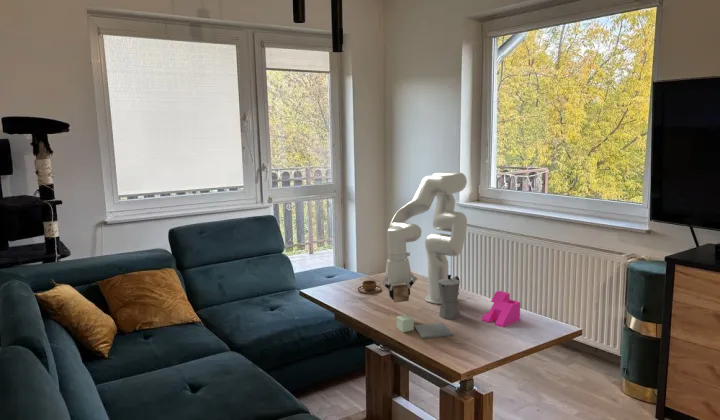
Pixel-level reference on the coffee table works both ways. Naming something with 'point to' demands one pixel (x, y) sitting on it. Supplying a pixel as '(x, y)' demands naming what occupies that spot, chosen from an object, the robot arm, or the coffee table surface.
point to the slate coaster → (432, 330)
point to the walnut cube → (400, 292)
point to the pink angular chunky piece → (503, 310)
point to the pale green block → (405, 323)
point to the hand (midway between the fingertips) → (399, 297)
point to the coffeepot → (449, 297)
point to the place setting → (369, 286)
